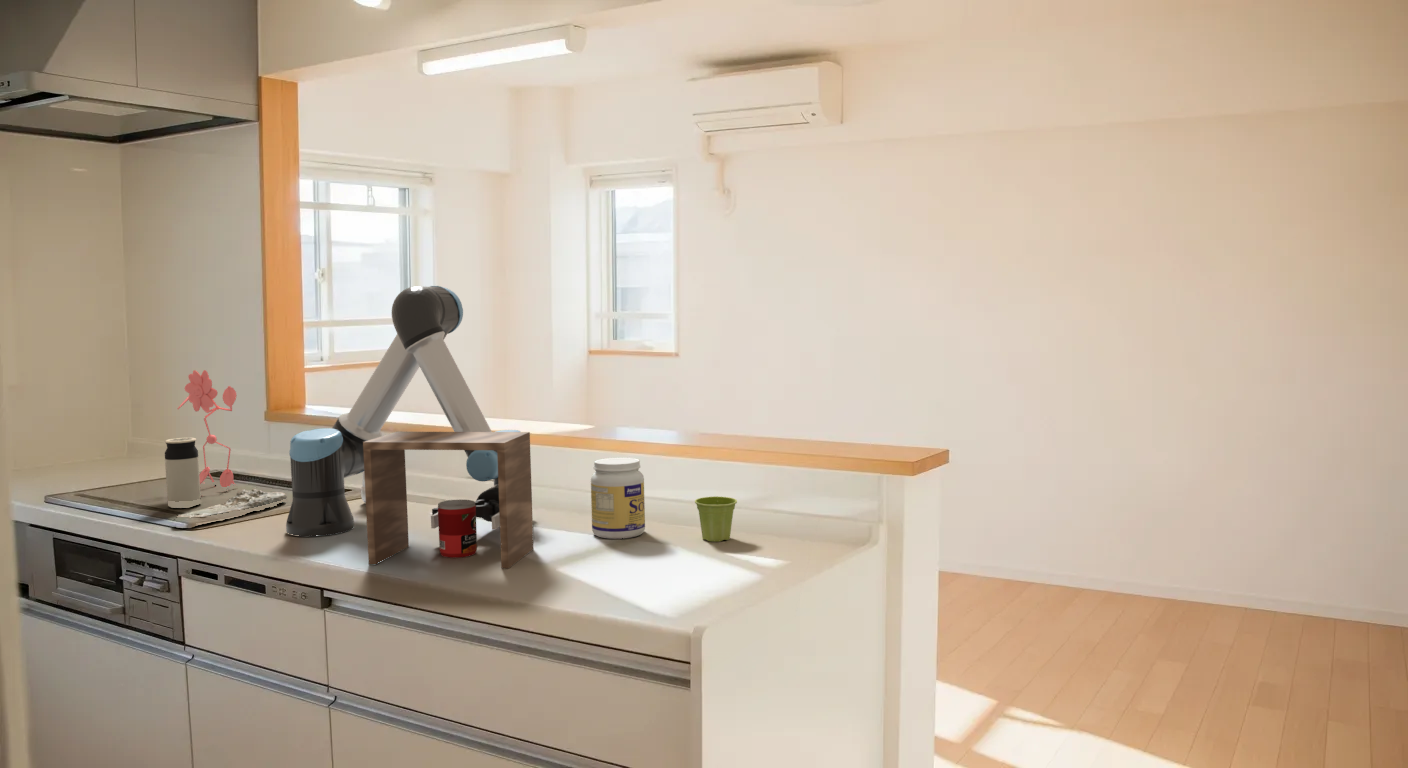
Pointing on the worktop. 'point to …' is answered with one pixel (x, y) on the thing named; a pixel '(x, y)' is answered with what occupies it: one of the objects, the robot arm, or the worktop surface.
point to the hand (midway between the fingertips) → (462, 522)
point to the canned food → (457, 528)
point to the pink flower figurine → (203, 397)
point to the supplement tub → (617, 498)
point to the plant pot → (716, 517)
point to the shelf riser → (389, 450)
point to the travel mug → (182, 470)
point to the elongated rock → (239, 503)
